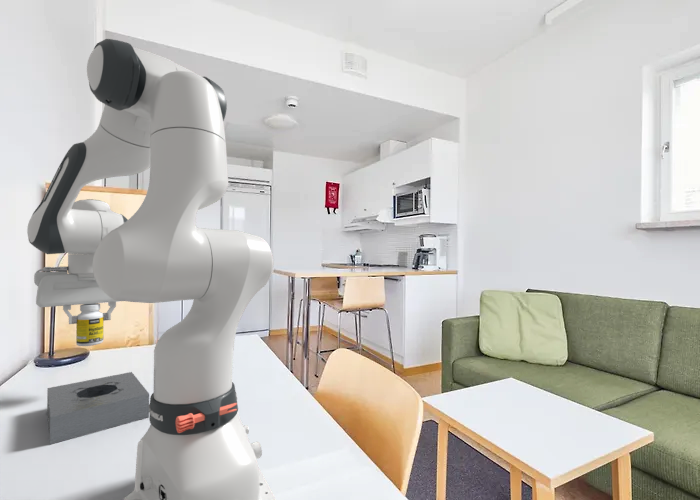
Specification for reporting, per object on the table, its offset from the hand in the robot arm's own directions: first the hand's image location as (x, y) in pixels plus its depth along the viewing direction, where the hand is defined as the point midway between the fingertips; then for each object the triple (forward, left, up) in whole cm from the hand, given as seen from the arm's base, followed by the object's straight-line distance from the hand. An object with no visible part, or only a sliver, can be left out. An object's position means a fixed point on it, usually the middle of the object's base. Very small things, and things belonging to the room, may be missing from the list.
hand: (90, 321), depth 87 cm
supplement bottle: (0, 0, -6) cm, 6 cm away
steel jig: (-15, 0, -18) cm, 23 cm away
